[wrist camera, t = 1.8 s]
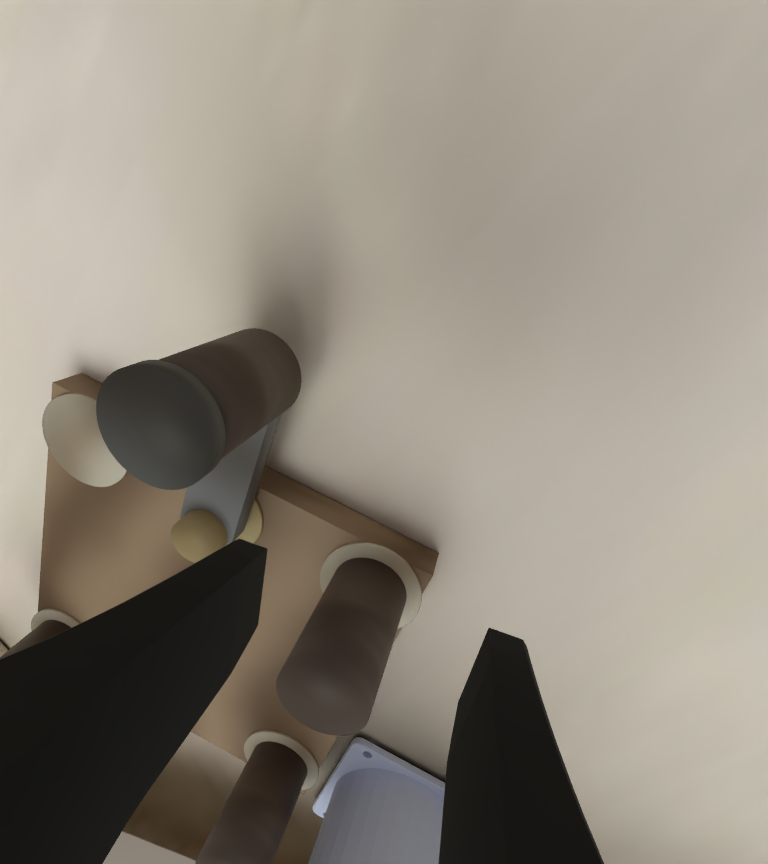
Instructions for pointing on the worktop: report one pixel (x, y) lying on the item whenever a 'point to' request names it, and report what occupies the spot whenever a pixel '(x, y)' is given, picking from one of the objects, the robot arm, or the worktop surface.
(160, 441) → the crank handle
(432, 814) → the robot arm
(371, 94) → the worktop surface
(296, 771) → the peg board with pegs
